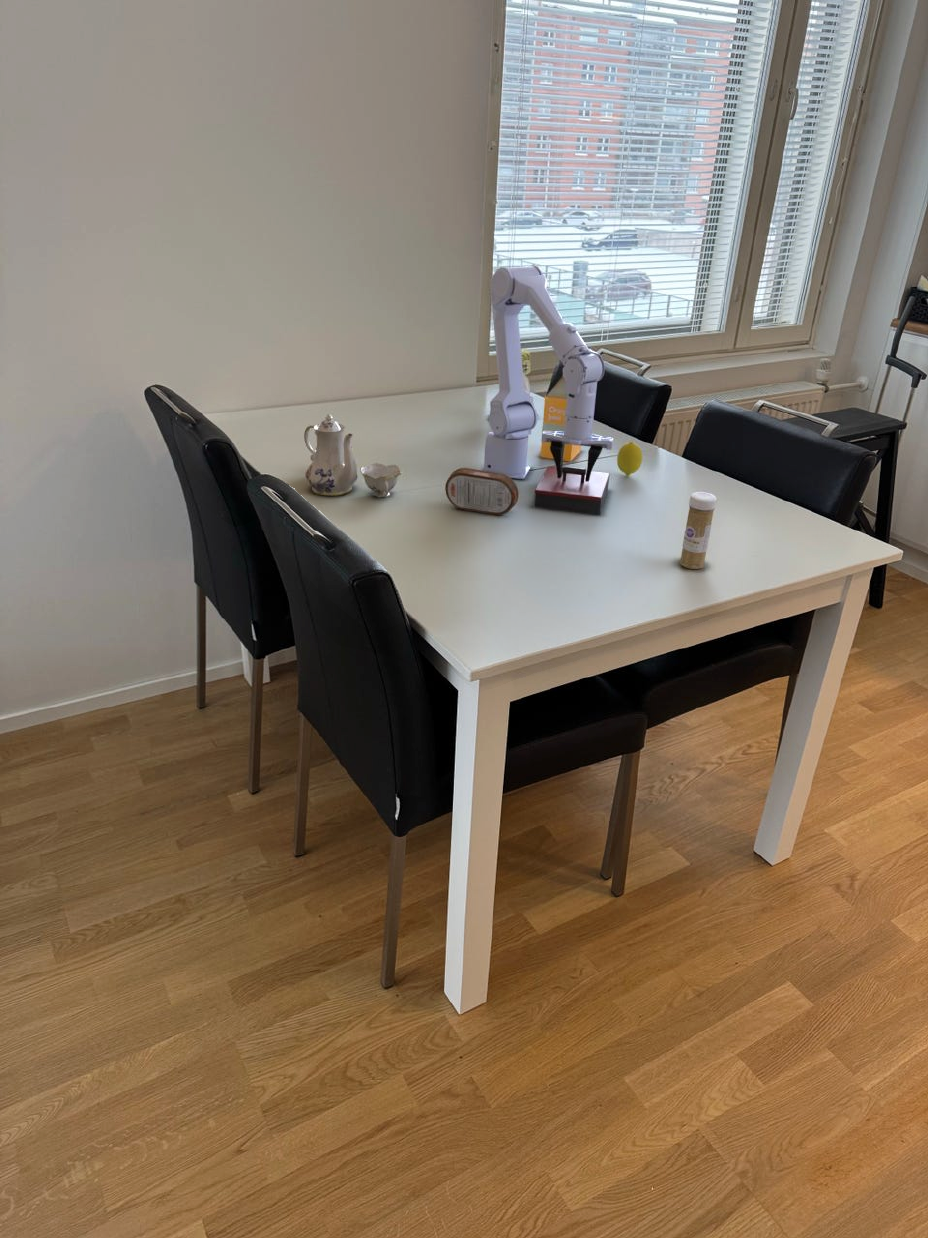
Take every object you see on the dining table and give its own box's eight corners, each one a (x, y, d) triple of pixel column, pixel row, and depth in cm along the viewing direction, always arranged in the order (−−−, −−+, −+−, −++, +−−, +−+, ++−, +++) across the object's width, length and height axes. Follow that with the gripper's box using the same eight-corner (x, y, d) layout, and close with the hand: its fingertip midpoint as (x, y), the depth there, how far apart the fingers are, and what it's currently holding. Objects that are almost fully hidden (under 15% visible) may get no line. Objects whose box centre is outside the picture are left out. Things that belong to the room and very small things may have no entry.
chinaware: (415, 501, 194) (421, 423, 188) (355, 513, 183) (360, 431, 176) (330, 468, 211) (333, 396, 204) (270, 478, 199) (272, 401, 192)
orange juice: (539, 457, 218) (546, 372, 209) (550, 446, 225) (557, 364, 216) (571, 461, 216) (579, 376, 206) (581, 451, 223) (589, 368, 213)
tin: (517, 513, 186) (520, 474, 182) (513, 519, 183) (515, 479, 179) (448, 502, 190) (449, 464, 186) (443, 508, 187) (443, 468, 183)
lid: (600, 501, 184) (602, 483, 183) (534, 493, 187) (535, 475, 185) (609, 476, 198) (611, 459, 196) (547, 469, 200) (548, 452, 199)
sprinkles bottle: (674, 564, 167) (685, 495, 160) (686, 557, 170) (698, 489, 163) (697, 572, 164) (709, 502, 158) (709, 564, 167) (721, 495, 161)
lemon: (639, 480, 206) (643, 446, 202) (614, 478, 207) (618, 444, 203) (640, 472, 211) (644, 439, 207) (615, 470, 211) (619, 436, 208)
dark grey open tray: (599, 515, 187) (601, 500, 185) (534, 507, 190) (535, 492, 188) (607, 491, 199) (609, 476, 198) (546, 483, 202) (547, 469, 200)
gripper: (540, 416, 183) (536, 480, 190) (613, 423, 180) (605, 488, 187) (546, 407, 189) (542, 469, 196) (616, 414, 186) (609, 477, 193)
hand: (573, 478), depth 192 cm, fingers open, 5 cm apart
